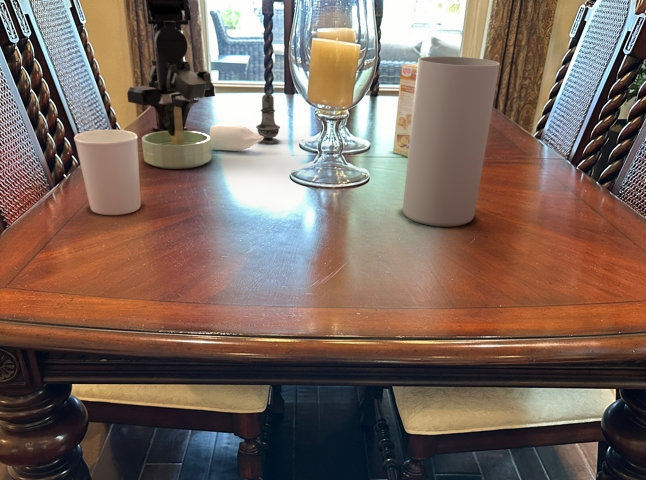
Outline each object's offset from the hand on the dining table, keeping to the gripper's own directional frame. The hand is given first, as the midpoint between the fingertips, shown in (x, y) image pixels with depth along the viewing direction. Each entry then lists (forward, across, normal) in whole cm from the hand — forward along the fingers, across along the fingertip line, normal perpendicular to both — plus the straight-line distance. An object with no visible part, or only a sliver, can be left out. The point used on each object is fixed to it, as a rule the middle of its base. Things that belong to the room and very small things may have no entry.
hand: (176, 134), depth 131 cm
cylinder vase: (+5, +8, -60) cm, 61 cm away
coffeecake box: (+6, +48, -34) cm, 59 cm away
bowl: (+5, -1, -1) cm, 6 cm away
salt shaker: (+6, +27, -2) cm, 27 cm away
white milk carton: (+6, +15, -4) cm, 16 cm away
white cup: (+5, -28, -18) cm, 34 cm away
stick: (+4, 0, 0) cm, 4 cm away
